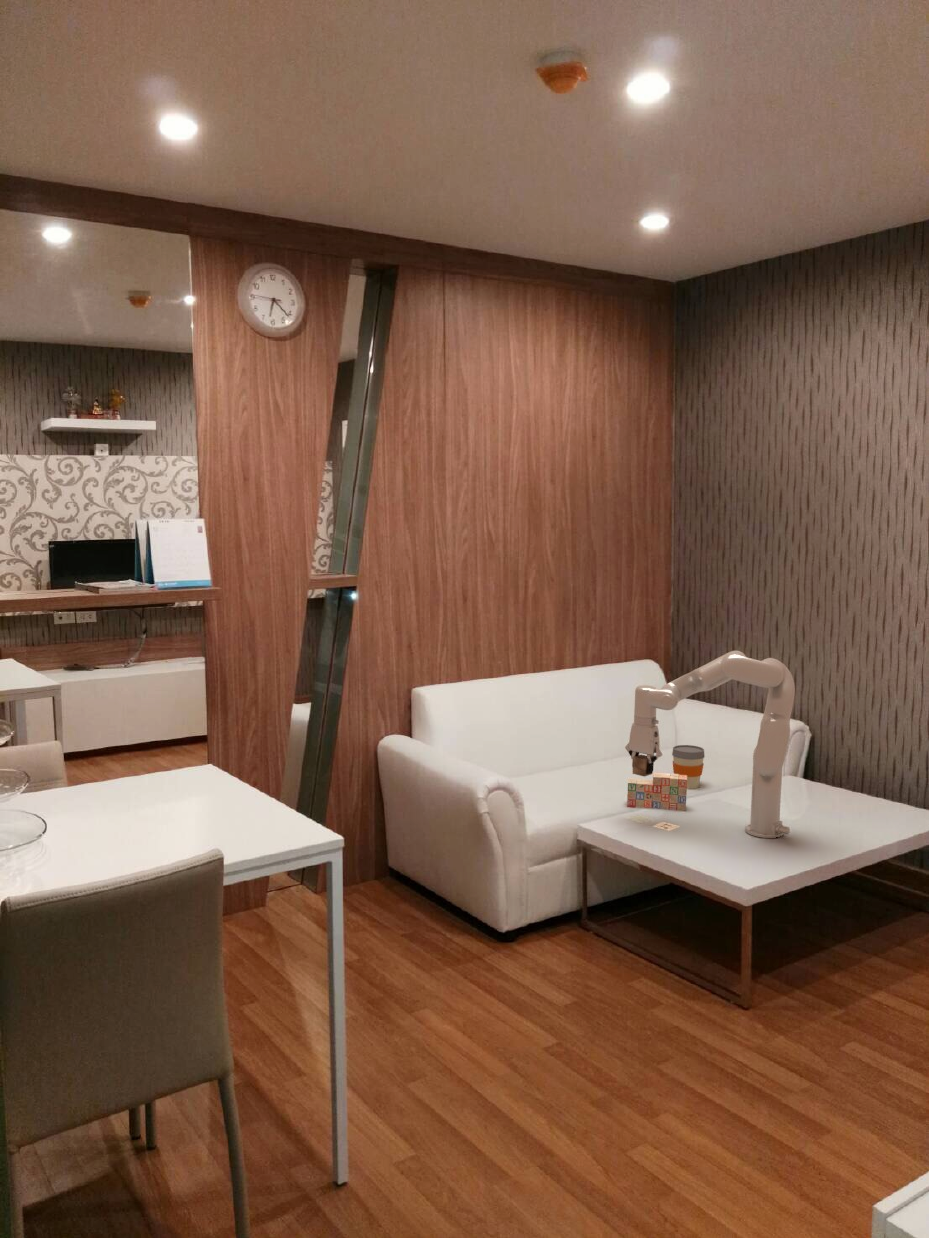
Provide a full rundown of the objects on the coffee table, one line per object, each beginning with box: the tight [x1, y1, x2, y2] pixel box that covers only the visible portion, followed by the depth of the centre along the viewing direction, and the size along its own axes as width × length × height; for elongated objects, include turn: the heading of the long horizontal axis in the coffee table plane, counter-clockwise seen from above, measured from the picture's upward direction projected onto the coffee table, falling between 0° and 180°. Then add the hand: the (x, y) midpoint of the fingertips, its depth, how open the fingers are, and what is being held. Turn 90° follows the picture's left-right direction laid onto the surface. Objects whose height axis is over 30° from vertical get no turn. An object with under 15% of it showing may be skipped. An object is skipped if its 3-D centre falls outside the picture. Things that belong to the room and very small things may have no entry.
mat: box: [626, 814, 681, 832], centre depth 354 cm, size 21×16×1 cm
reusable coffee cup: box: [671, 744, 705, 790], centre depth 400 cm, size 12×12×15 cm
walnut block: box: [632, 754, 653, 777], centre depth 355 cm, size 5×5×6 cm
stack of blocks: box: [626, 772, 688, 812], centre depth 373 cm, size 21×6×12 cm, turn 77°
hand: (642, 771), depth 355 cm, fingers closed on walnut block, 5 cm apart
